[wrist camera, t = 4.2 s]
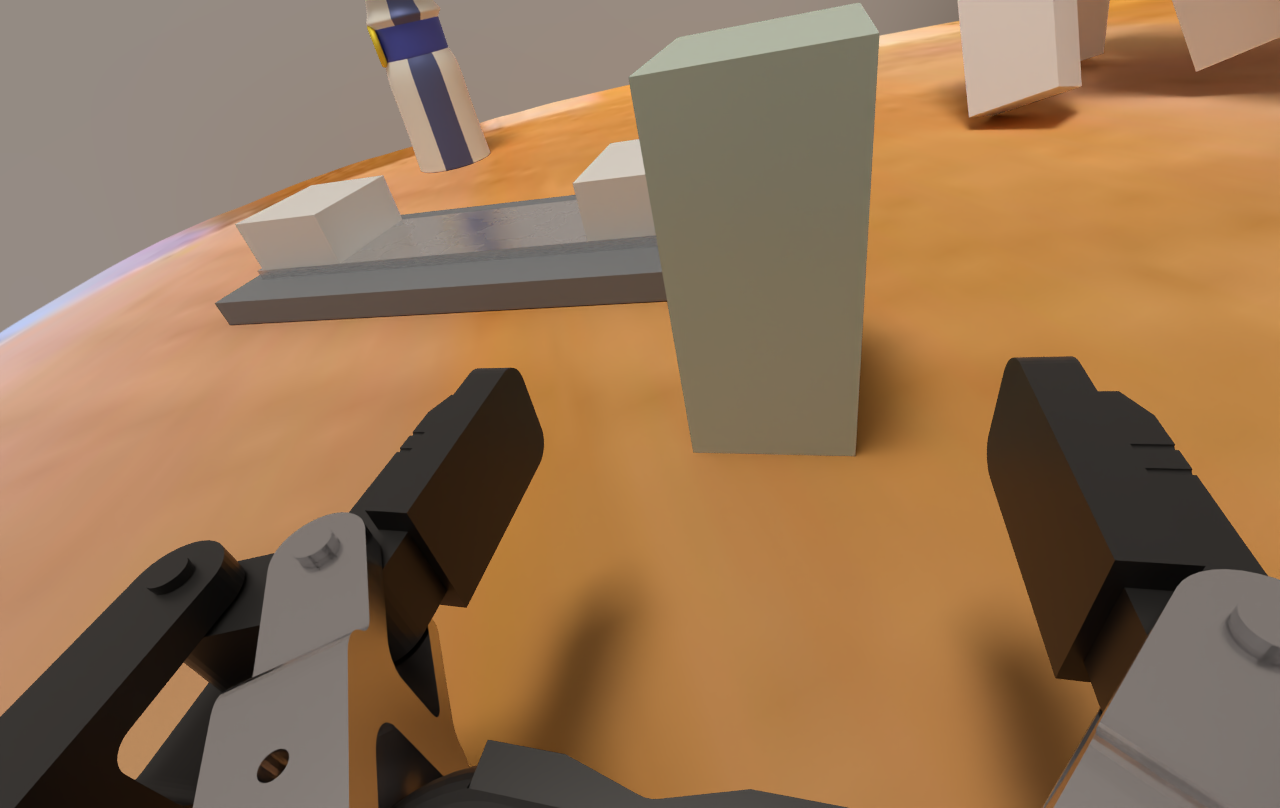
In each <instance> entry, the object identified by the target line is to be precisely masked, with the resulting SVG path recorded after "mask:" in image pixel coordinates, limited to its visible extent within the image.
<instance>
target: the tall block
mask: <svg viewBox="0 0 1280 808" xmlns="http://www.w3.org/2000/svg"><path fill="white" fill-rule="evenodd" d="M878 49H879V32H878V30H877V29H876V27H875V25H874V24H873V22H872V21H871V19H870V18H869V16H868V14H867V13H866V11H865V10H864V8H863V7H862V5H861V4H860V3H855V4H850V5H844V6H839V7H834V8H829V9H824V10H818V11H813V12H808V13H803V14H798V15H793V16H788V17H782V18H777V19H772V20H766V21H761V22H756V23H751V24H746V25H741V26H735V27H730V28H725V29H720V30H714V31H710V32H704V33H699V34H694V35H688V36H683V37H678V38H677V39H675V40H674V41H673V42H672V43H670V44H669V45H668V46H667V47H665V48H664V49H663V50H662V51H660V52H659V53H658V54H657V55H656V56H654V57H653V58H652V59H651V60H649V61H648V62H647V63H646V64H644V65H643V66H642V67H641V68H640V69H638V70H637V71H636V72H634V73H633V74H632V75H631V76H629V83H630V89H631V95H632V100H633V106H634V112H635V118H636V124H637V129H638V135H639V141H640V147H641V152H642V158H643V164H644V170H645V176H646V181H647V187H648V193H649V199H650V205H651V210H652V216H653V222H654V228H655V233H656V239H657V245H658V251H659V257H660V262H661V268H662V274H663V280H664V286H665V291H666V297H667V303H668V309H669V314H670V320H671V326H672V332H673V338H674V343H675V349H676V355H677V361H678V367H679V372H680V378H681V384H682V390H683V395H684V401H685V407H686V413H687V419H688V424H689V430H690V436H691V442H692V447H693V452H696V453H740V454H783V455H827V456H855V454H856V436H857V418H858V401H859V383H860V366H861V348H862V330H863V313H864V295H865V278H866V260H867V242H868V225H869V207H870V189H871V172H872V154H873V137H874V119H875V101H876V84H877V66H878Z"/></svg>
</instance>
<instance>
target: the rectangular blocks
mask: <svg viewBox="0 0 1280 808" xmlns="http://www.w3.org/2000/svg"><path fill="white" fill-rule="evenodd" d="M573 186H574V190H575V194H576V199H577V203H578V207H579V211H580V215H581V219H582V223H583V227H584V231H585V235H586V239H587V242H588V241H599V240H610V239H621V238H632V237H643V236H655V235H656V233H655V228H654V222H653V216H652V210H651V205H650V199H649V193H648V187H647V181H646V176H645V170H644V164H643V158H642V152H641V147H640V141H639V139H637V140H630V141H623V142H616V143H610V144H609V145H608V147H607V148H606V149H605V150H604V151H603V152H602V153H601V154H600V155H599V156H598V157H597V158H596V159H595V160H594V161H593V162H592V163H591V164H590V166H589V167H588V168H587V169H586V170H585V171H584V172H583V173H582V174H581V175H580V176H579V177H578V178H577V179H576V180H575V181H574V182H573ZM401 220H402V217H401V215H400V213H399V211H398V208H397V206H396V204H395V201H394V199H393V197H392V195H391V192H390V190H389V188H388V185H387V183H386V181H385V179H384V176H383V175H382V176H375V177H368V178H361V179H354V180H347V181H340V182H333V183H325V184H318V185H311V186H309V187H307V188H306V189H304V190H302V191H300V192H298V193H296V194H294V195H292V196H290V197H288V198H286V199H284V200H282V201H280V202H278V203H276V204H274V205H272V206H270V207H268V208H266V209H264V210H262V211H260V212H259V213H257V214H255V215H253V216H251V217H249V218H247V219H245V220H243V221H241V222H239V223H237V224H235V225H236V227H237V228H238V230H239V232H240V233H241V235H242V236H243V238H244V240H245V241H246V243H247V245H248V246H249V248H250V249H251V251H252V253H253V254H254V256H255V257H256V259H257V261H258V262H259V264H260V266H261V267H262V269H263V270H274V269H286V268H297V267H308V266H319V265H330V264H340V263H342V262H343V261H344V260H346V259H347V258H349V257H350V256H351V255H353V254H354V253H356V252H357V251H359V250H360V249H361V248H363V247H364V246H366V245H367V244H368V243H370V242H371V241H373V240H374V239H376V238H377V237H378V236H380V235H381V234H383V233H384V232H385V231H387V230H388V229H390V228H391V227H393V226H394V225H395V224H397V223H398V222H400V221H401Z"/></svg>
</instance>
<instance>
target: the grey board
mask: <svg viewBox="0 0 1280 808" xmlns="http://www.w3.org/2000/svg"><path fill="white" fill-rule="evenodd" d="M571 200H577V199H576V195H571V196H562V197H553V198H545V199H536V200H527V201H519V202H510V203H501V204H493V205H484V206H475V207H467V208H458V209H449V210H441V211H432V212H423V213H415V214H406V215H401V217H402V219H411V218H420V217H429V216H438V215H447V214H456V213H465V212H473V211H482V210H491V209H500V208H509V207H518V206H527V205H536V204H544V203H553V202H562V201H571ZM653 301H667V297H666V291H665V286H664V280H663V274H662V268H661V262H660V257H659V251H658V247H648V248H636V249H624V250H612V251H600V252H588V253H576V254H564V255H552V256H540V257H528V258H516V259H504V260H492V261H480V262H468V263H456V264H444V265H432V266H420V267H408V268H396V269H384V270H372V271H360V272H348V273H336V274H324V275H312V276H300V277H288V278H276V279H264V280H263V279H262V277H261V276H260V275H259V276H258V277H256V278H254V279H253V280H251V281H250V282H248V283H246V284H245V285H243V286H242V287H240V288H238V289H237V290H235V291H234V292H232V293H230V294H229V295H227V296H226V297H224V298H222V299H221V300H219V301H218V302H216V303H215V304H216V306H217V307H218V309H219V310H220V312H221V313H222V314H223V316H224V317H225V319H226V320H227V322H228V323H229V324H230V325H234V324H252V323H270V322H288V321H307V320H325V319H343V318H361V317H380V316H398V315H416V314H434V313H453V312H471V311H489V310H507V309H525V308H544V307H562V306H580V305H598V304H617V303H635V302H653Z"/></svg>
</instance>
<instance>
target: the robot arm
mask: <svg viewBox="0 0 1280 808" xmlns="http://www.w3.org/2000/svg"><path fill="white" fill-rule="evenodd" d="M1174 446H1175V444H1174V443H1173V441H1172V440H1171V438H1170V437H1169V435H1168V434H1167V433H1166V431H1165V430H1164V428H1163V427H1162V426H1161V424H1160V423H1159V421H1158V420H1157V418H1156V417H1155V416H1154V415H1153V414H1151V413H1150V412H1149V411H1147V410H1146V409H1144V408H1143V407H1141V406H1140V405H1138V404H1137V403H1135V402H1134V401H1132V400H1131V399H1129V398H1128V397H1127V396H1125V395H1124V394H1122V393H1121V392H1119V391H1097V390H1096V388H1095V386H1094V385H1093V383H1092V382H1091V380H1090V378H1089V377H1088V375H1087V373H1086V372H1085V370H1084V369H1083V367H1082V365H1081V364H1080V362H1079V361H1078V360H1077V359H1076V358H1075V357H1072V356H1068V357H1023V358H1011V359H1010V360H1009V361H1008V363H1007V365H1006V367H1005V370H1004V374H1003V378H1002V382H1001V386H1000V390H999V394H998V399H997V403H996V407H995V411H994V415H993V419H992V423H991V428H990V432H989V436H988V443H987V463H988V471H989V475H990V479H991V482H992V485H993V488H994V491H995V494H996V497H997V500H998V503H999V507H1000V510H1001V513H1002V516H1003V519H1004V522H1005V525H1006V528H1007V531H1008V534H1009V537H1010V540H1011V543H1012V546H1013V549H1014V552H1015V556H1016V559H1017V562H1018V565H1019V568H1020V571H1021V574H1022V577H1023V580H1024V583H1025V586H1026V589H1027V592H1028V595H1029V598H1030V602H1031V605H1032V608H1033V611H1034V614H1035V617H1036V620H1037V623H1038V626H1039V629H1040V632H1041V635H1042V638H1043V641H1044V644H1045V647H1046V651H1047V654H1048V657H1049V660H1050V663H1051V666H1052V669H1053V672H1054V675H1055V678H1058V679H1067V680H1075V681H1084V682H1091V684H1092V686H1093V689H1094V692H1095V695H1096V697H1097V700H1098V703H1099V705H1100V709H1099V710H1098V712H1097V714H1096V715H1095V717H1094V719H1093V720H1092V722H1091V724H1090V725H1089V727H1088V729H1087V731H1086V732H1085V734H1084V736H1083V737H1082V739H1081V741H1080V743H1079V744H1078V746H1077V748H1076V750H1075V751H1074V753H1073V755H1072V756H1071V758H1070V760H1069V762H1068V763H1067V765H1066V767H1065V768H1064V770H1063V772H1062V774H1061V775H1060V777H1059V779H1058V781H1057V782H1056V784H1055V786H1054V787H1053V789H1052V791H1051V793H1050V794H1049V796H1048V798H1047V799H1046V801H1045V803H1044V805H1043V806H1042V808H1280V580H1278V579H1276V578H1272V577H1269V576H1268V575H1267V574H1266V573H1265V571H1264V570H1263V569H1262V567H1261V566H1260V564H1259V563H1258V561H1257V560H1256V559H1255V557H1254V556H1253V554H1252V553H1251V552H1250V550H1249V549H1248V547H1247V546H1246V544H1245V543H1244V542H1243V540H1242V539H1241V537H1240V536H1239V535H1238V533H1237V532H1236V530H1235V529H1234V527H1233V526H1232V525H1231V523H1230V522H1229V520H1228V519H1227V518H1226V516H1225V515H1224V513H1223V512H1222V510H1221V509H1220V508H1219V506H1218V505H1217V503H1216V502H1215V501H1214V499H1213V498H1212V496H1211V495H1210V493H1209V492H1208V491H1207V489H1206V488H1205V486H1204V485H1203V484H1202V482H1201V481H1200V479H1199V478H1198V477H1197V475H1192V468H1191V467H1190V465H1189V464H1188V462H1187V461H1186V460H1185V458H1184V457H1183V455H1182V454H1181V452H1180V451H1179V450H1175V449H1174ZM543 449H544V437H543V432H542V428H541V426H540V423H539V420H538V418H537V415H536V412H535V410H534V407H533V404H532V402H531V399H530V396H529V393H528V391H527V388H526V385H525V383H524V380H523V378H522V375H521V374H520V372H519V371H518V370H517V369H515V368H481V369H475V370H473V371H472V372H471V373H470V374H469V375H468V377H467V378H466V379H465V380H464V382H463V383H462V384H461V386H460V387H459V388H458V390H457V391H456V392H455V393H454V395H451V396H449V397H448V398H447V399H445V400H444V401H443V402H441V403H440V404H439V405H437V406H436V407H435V408H433V409H432V410H431V411H429V412H428V413H427V415H426V416H425V417H424V418H423V420H422V421H421V422H420V423H419V425H418V426H417V427H416V429H415V430H414V431H413V436H409V437H408V439H407V440H406V441H405V442H404V444H403V445H402V446H401V447H400V452H397V453H396V454H395V455H394V456H393V458H392V459H391V460H390V461H389V463H388V464H387V465H386V466H385V468H384V469H383V470H382V471H381V473H380V474H379V475H378V477H377V478H376V479H375V480H374V482H373V483H372V484H371V485H370V487H369V488H368V489H367V490H366V492H365V493H364V494H363V495H362V497H361V498H360V499H359V500H358V502H357V503H356V504H355V506H354V507H353V508H352V509H351V511H350V512H349V513H343V512H341V513H334V514H330V515H326V516H323V517H320V518H318V519H316V520H314V521H311V522H310V523H308V524H306V525H304V526H303V527H301V528H300V529H298V530H297V531H296V532H294V533H293V534H292V535H291V536H289V537H288V538H287V539H286V540H285V541H284V542H283V543H282V544H281V546H280V547H279V548H278V549H277V551H276V552H275V553H274V554H269V555H264V556H260V557H255V558H251V559H246V560H242V561H237V560H236V559H235V558H234V557H233V556H232V555H231V554H230V553H229V552H228V551H227V550H226V549H225V548H224V547H223V546H222V545H221V544H220V543H218V542H215V541H210V540H207V541H199V542H194V543H191V544H188V545H185V546H183V547H180V548H178V549H176V550H174V551H172V552H170V553H169V554H167V555H165V556H164V557H162V558H160V559H159V560H158V561H156V562H155V563H153V564H152V565H151V566H150V567H148V568H147V569H146V570H145V571H144V572H143V573H142V574H141V575H139V576H138V577H137V578H136V579H135V580H134V581H133V582H132V583H131V584H130V586H129V587H128V588H127V589H126V590H125V591H124V592H123V593H122V594H121V595H120V596H119V597H118V598H117V599H116V600H115V601H114V602H113V603H112V604H111V605H110V606H109V607H108V608H107V609H106V610H105V611H104V612H103V613H102V614H101V615H100V616H99V617H98V618H97V619H96V620H95V621H94V622H93V623H92V624H91V625H90V626H89V627H88V628H87V629H86V630H85V631H84V632H83V633H82V634H81V635H80V636H79V637H78V638H77V639H76V640H75V641H74V643H73V644H72V645H71V646H70V647H69V648H68V649H67V650H66V651H65V652H64V653H63V654H62V655H61V656H60V657H59V658H58V659H57V660H56V661H55V662H54V663H53V664H52V665H51V666H50V667H49V668H48V669H47V670H46V671H45V672H44V673H43V674H42V675H41V676H40V677H39V678H38V679H37V680H36V681H35V682H34V683H33V684H32V685H31V686H30V687H29V688H28V689H27V690H26V691H25V692H24V693H23V694H22V695H21V696H20V697H19V698H18V700H17V701H16V702H15V703H14V704H13V705H12V706H11V707H10V708H9V709H8V710H7V711H6V712H5V713H4V714H3V715H2V716H1V717H0V808H847V807H842V806H836V805H831V804H826V803H821V802H815V801H810V800H805V799H799V798H794V797H789V796H783V795H778V794H773V793H768V792H762V791H757V790H752V789H748V790H739V791H730V792H720V793H711V794H702V795H692V796H683V797H674V798H664V799H649V798H644V797H642V796H640V795H638V794H636V793H634V792H632V791H631V790H629V789H627V788H625V787H623V786H622V785H620V784H618V783H616V782H614V781H613V780H611V779H609V778H607V777H605V776H604V775H602V774H600V773H598V772H596V771H595V770H593V769H591V768H589V767H587V766H586V765H584V764H582V763H580V762H578V761H577V760H575V759H573V758H571V757H569V756H568V755H566V754H561V753H556V752H550V751H545V750H540V749H534V748H529V747H524V746H518V745H513V744H508V743H503V742H497V741H492V740H488V741H487V743H486V746H485V748H484V751H483V753H482V756H481V758H480V761H479V763H478V765H477V766H473V767H469V764H468V761H467V758H466V756H465V753H464V751H463V749H462V747H461V745H460V743H459V740H458V738H457V735H456V732H455V729H454V725H453V720H452V714H451V708H450V701H449V695H448V689H447V683H446V677H445V671H444V664H443V658H442V652H441V646H440V640H439V633H438V629H437V625H436V624H435V622H434V620H433V619H432V617H433V616H434V614H435V612H436V610H437V608H438V606H439V605H448V606H456V607H465V608H467V606H468V604H469V602H470V600H471V598H472V596H473V594H474V592H475V590H476V588H477V586H478V584H479V582H480V580H481V578H482V576H483V574H484V572H485V570H486V568H487V566H488V564H489V562H490V560H491V558H492V556H493V555H494V553H495V551H496V549H497V547H498V545H499V543H500V541H501V539H502V537H503V535H504V533H505V531H506V529H507V527H508V525H509V523H510V521H511V519H512V517H513V515H514V513H515V511H516V509H517V507H518V505H519V503H520V501H521V499H522V497H523V495H524V493H525V492H526V490H527V488H528V486H529V484H530V482H531V480H532V478H533V476H534V474H535V472H536V470H537V468H538V466H539V464H540V462H541V459H542V455H543ZM183 662H184V663H185V664H186V665H188V666H189V667H190V668H192V669H193V670H194V671H195V672H197V673H198V674H199V675H200V676H202V677H203V678H204V679H205V680H207V681H208V682H209V683H208V685H207V686H206V687H205V689H204V690H203V691H202V693H201V694H200V695H199V697H198V698H197V699H196V701H195V702H194V703H193V705H192V706H191V707H190V709H189V710H188V711H187V713H186V714H185V715H184V717H183V718H182V719H181V721H180V722H179V723H178V725H177V726H176V727H175V729H174V730H173V731H172V733H171V734H170V735H169V737H168V738H167V739H166V741H165V742H164V743H163V745H162V746H161V747H160V749H159V750H158V752H157V753H156V754H155V756H154V757H153V758H152V760H151V761H150V762H149V764H148V765H147V766H146V768H145V769H144V770H143V772H142V773H141V774H140V775H139V777H138V778H137V779H136V780H134V779H132V778H130V777H128V776H127V775H125V774H123V773H122V772H121V770H120V769H119V767H118V763H117V755H118V750H119V747H120V744H121V742H122V740H123V738H124V737H125V735H126V734H127V732H128V731H129V729H130V728H131V727H132V726H133V724H134V723H135V722H136V721H137V719H138V718H139V717H140V716H141V715H142V713H143V712H144V711H145V710H146V708H147V707H148V706H149V705H150V703H151V702H152V701H153V700H154V698H155V697H156V696H157V695H158V693H159V692H160V691H161V690H162V688H163V687H164V686H165V685H166V683H167V682H168V681H169V680H170V678H171V677H172V676H173V675H174V673H175V672H176V671H177V670H178V668H179V667H180V666H181V665H182V663H183Z"/></svg>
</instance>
